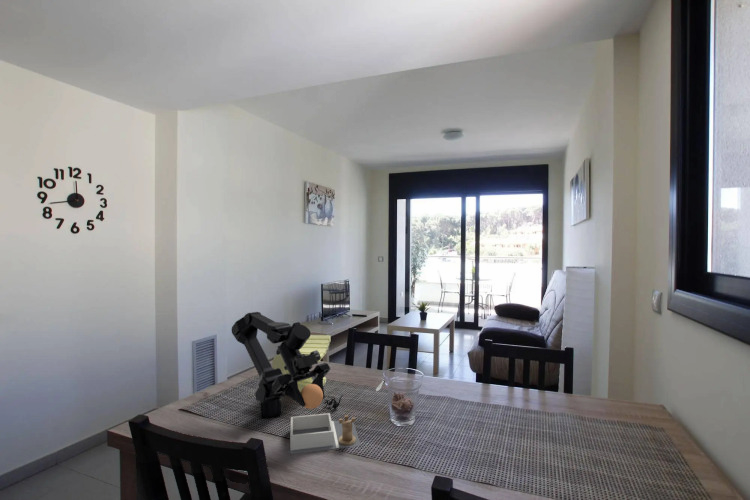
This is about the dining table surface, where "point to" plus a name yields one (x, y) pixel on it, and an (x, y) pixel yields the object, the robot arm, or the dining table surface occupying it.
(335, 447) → the grey flat plate
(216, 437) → the dining table surface
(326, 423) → the tray
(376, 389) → the fork
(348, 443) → the ball tee
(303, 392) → the ball
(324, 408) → the creature
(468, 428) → the dining table surface
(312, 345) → the slatted curved stool
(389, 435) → the dining table surface
